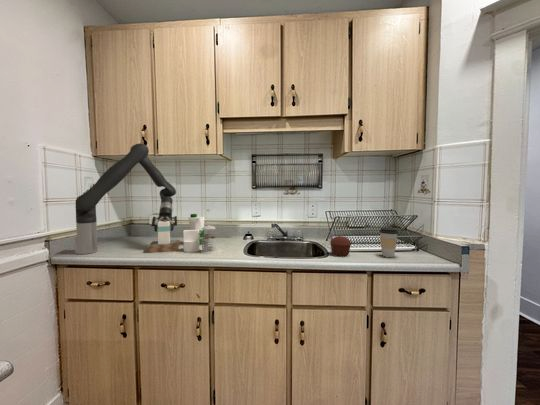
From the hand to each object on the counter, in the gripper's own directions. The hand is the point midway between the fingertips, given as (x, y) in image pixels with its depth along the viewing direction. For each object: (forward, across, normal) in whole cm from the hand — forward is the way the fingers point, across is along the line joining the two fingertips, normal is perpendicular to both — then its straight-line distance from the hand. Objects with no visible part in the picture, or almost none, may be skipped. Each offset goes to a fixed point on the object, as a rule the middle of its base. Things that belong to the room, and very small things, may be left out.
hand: (163, 230), depth 145 cm
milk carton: (+1, +19, +15) cm, 24 cm away
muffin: (+37, +96, -20) cm, 105 cm away
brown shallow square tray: (+7, 0, +9) cm, 11 cm away
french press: (+17, +25, -1) cm, 30 cm away
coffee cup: (+44, +119, -28) cm, 130 cm away
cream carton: (+5, 0, +6) cm, 8 cm away
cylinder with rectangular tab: (+13, +16, +3) cm, 21 cm away
